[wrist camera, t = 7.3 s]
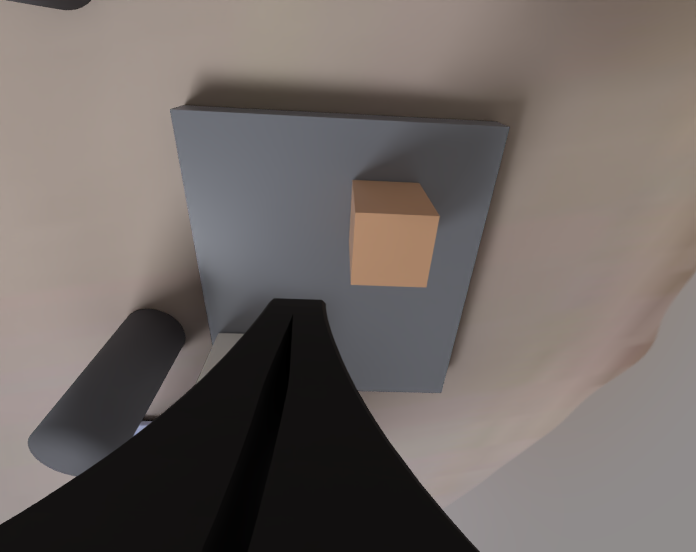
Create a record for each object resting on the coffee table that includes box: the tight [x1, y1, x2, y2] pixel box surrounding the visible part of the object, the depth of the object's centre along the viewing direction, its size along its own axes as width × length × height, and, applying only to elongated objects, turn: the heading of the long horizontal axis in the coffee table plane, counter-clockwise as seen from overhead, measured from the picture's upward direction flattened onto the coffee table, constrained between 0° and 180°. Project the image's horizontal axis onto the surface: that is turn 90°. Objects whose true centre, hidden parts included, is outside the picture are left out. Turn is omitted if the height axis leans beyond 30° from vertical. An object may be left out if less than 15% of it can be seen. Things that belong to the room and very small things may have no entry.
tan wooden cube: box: [349, 180, 440, 287], centre depth 15 cm, size 3×3×4 cm
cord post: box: [28, 309, 185, 476], centre depth 19 cm, size 4×4×8 cm
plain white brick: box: [195, 333, 244, 385], centre depth 20 cm, size 3×3×4 cm
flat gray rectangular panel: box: [170, 105, 510, 393], centre depth 20 cm, size 16×14×2 cm
